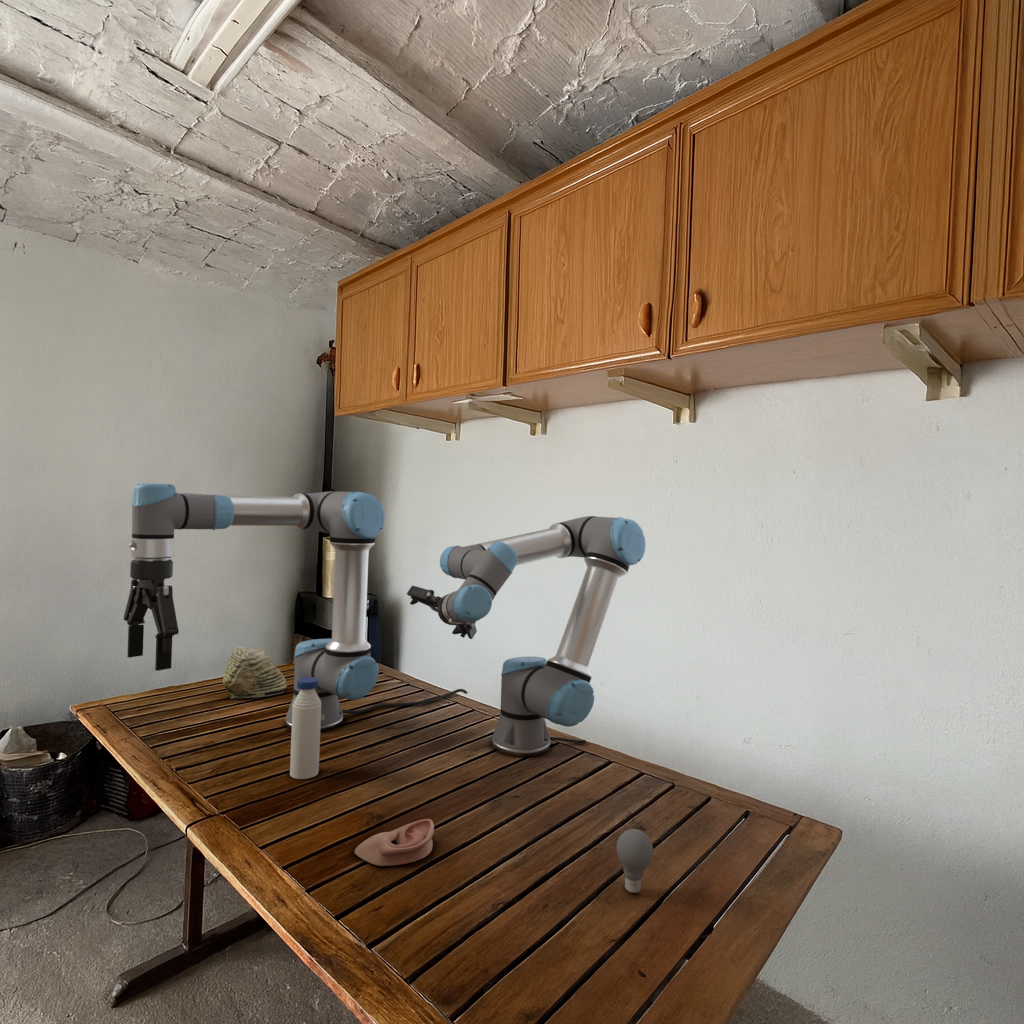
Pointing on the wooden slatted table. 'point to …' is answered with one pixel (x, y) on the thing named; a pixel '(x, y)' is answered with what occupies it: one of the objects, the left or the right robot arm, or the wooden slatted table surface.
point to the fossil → (252, 674)
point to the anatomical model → (398, 844)
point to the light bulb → (634, 857)
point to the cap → (307, 683)
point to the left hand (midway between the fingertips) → (148, 662)
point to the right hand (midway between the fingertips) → (434, 614)
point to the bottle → (305, 735)
